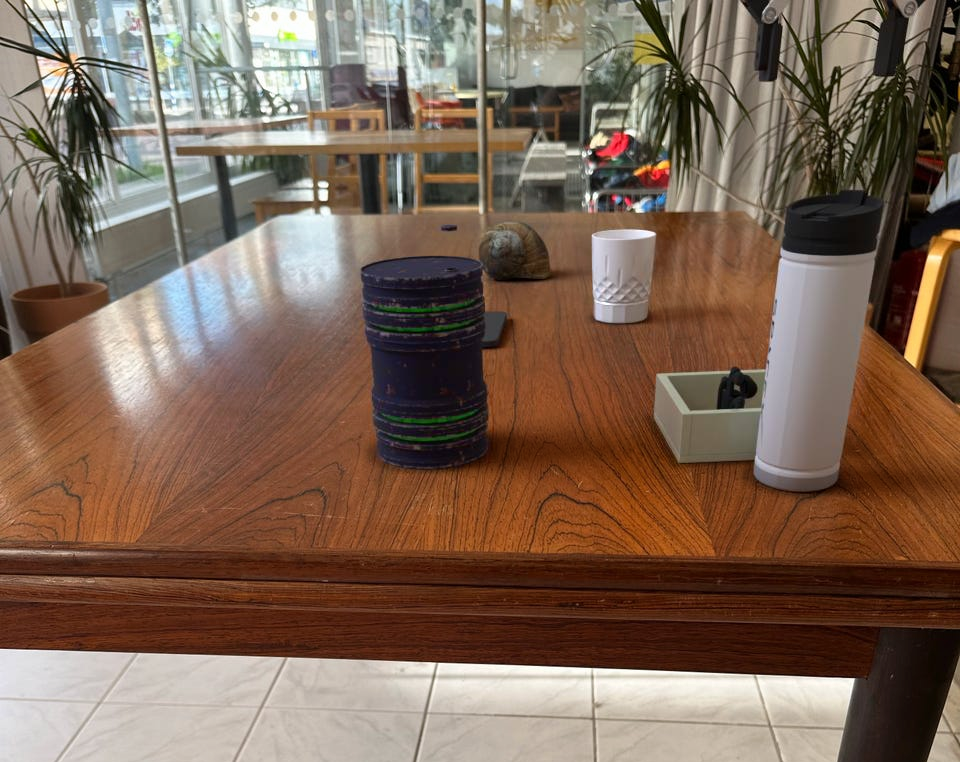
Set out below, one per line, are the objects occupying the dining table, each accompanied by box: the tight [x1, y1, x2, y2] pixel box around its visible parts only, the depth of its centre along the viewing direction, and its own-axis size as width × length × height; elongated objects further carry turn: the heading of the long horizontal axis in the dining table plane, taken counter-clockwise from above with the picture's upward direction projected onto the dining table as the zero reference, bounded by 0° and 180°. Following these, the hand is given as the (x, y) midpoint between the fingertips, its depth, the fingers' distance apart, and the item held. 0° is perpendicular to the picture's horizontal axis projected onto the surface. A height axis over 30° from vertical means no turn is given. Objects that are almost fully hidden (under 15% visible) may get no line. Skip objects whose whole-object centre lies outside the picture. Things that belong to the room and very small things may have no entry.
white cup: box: [591, 229, 657, 324], centre depth 118 cm, size 8×8×10 cm
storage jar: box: [359, 224, 490, 470], centre depth 77 cm, size 10×10×18 cm
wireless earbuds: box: [716, 365, 758, 410], centre depth 80 cm, size 7×2×5 cm, turn 179°
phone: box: [482, 310, 508, 348], centre depth 116 cm, size 7×1×15 cm
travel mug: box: [753, 188, 885, 493], centre depth 68 cm, size 6×7×20 cm
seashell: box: [478, 220, 553, 281], centre depth 144 cm, size 11×9×8 cm
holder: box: [653, 368, 766, 464], centre depth 80 cm, size 12×12×4 cm
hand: (825, 78), depth 78 cm, fingers open, 9 cm apart
